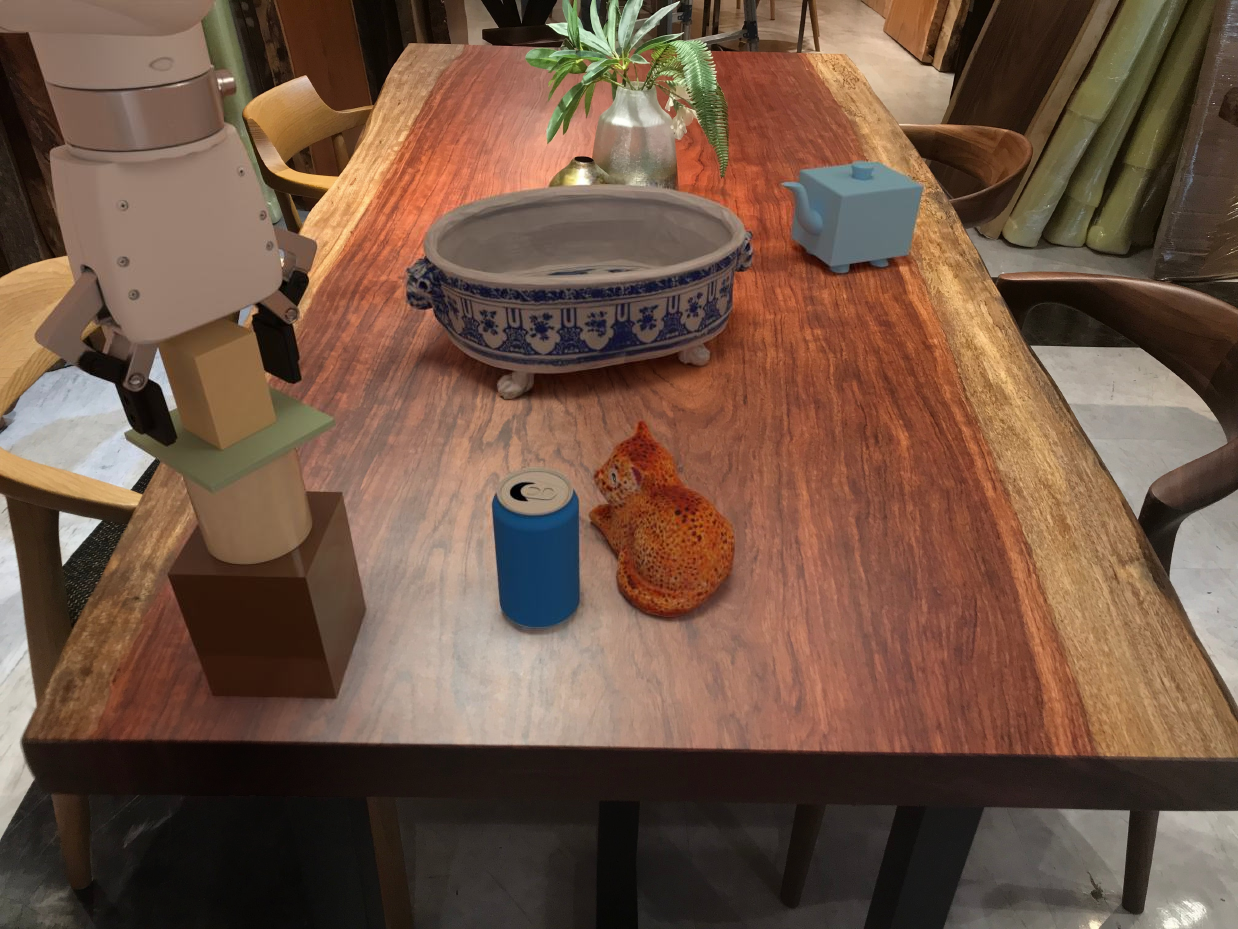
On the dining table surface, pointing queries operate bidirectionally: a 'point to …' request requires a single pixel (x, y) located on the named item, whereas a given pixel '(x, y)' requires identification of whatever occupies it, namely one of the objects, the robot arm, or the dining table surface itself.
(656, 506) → the figurine
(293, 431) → the block on board
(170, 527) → the dining table surface
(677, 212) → the decorative bowl
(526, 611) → the beverage can
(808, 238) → the teapot
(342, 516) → the cylinder on cube
